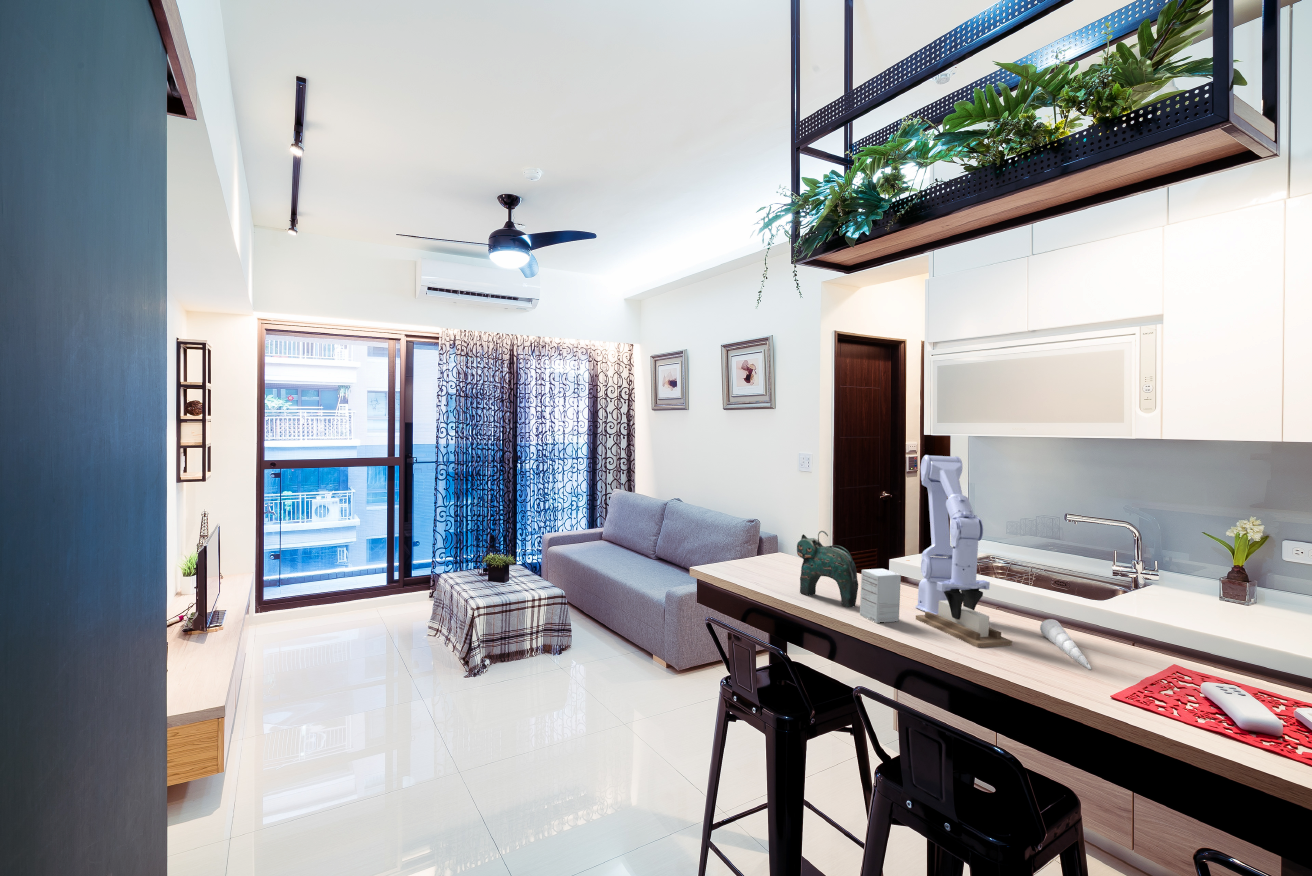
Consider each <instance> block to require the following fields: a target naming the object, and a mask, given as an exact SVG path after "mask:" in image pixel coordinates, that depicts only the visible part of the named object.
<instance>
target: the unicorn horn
mask: <svg viewBox="0 0 1312 876" xmlns="http://www.w3.org/2000/svg"><path fill="white" fill-rule="evenodd" d="M1039 629H1040V633H1041V635H1043V637H1045V638H1046V639H1047V638H1048V639H1049V640H1048V639H1047V640H1048V641H1050V642H1051V641H1052V642H1053V644H1054V645H1055V646H1056V647H1057V646H1058V647H1057V648H1058V649H1060V650H1061V651H1062V652H1064V653H1065V654H1067V655H1068V656H1069V657H1070V658H1072V659H1073V660H1074V661H1076V662H1077V663H1079V664H1080V665H1082V666H1083V667H1085V668H1086V669H1088V670H1092V666H1091V665H1090V663H1089V661H1088V660H1087V658H1086V657H1085V655H1084V654H1083V653H1082V651H1081V650H1080V648H1079V647H1078V645H1077V644H1076V643H1075V642H1074V640H1073V639H1072V638H1071V637H1070V635H1069V634H1068V633H1067V632H1066V630H1065V629H1064V627H1063V626H1062V625H1061V623H1060V622H1059V621H1058V620H1056V619H1052V618H1051V619H1050V618H1048V619H1045V620H1044V621H1042V622H1041V624H1040V625H1039ZM1052 642H1051V643H1052Z"/></svg>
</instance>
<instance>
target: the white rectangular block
mask: <svg viewBox="0 0 1312 876" xmlns="http://www.w3.org/2000/svg"><path fill="white" fill-rule="evenodd" d="M938 616H941V617H943V618H945V619H948V620H950V621H952V622H955V623H957V624H959V625H962V626H964V627H966V628H968V629H971V630H973V631H975V632H978V633H980V637H988V633H989V627H990V615H987V614H985V613H982V612H980V611H977V610H972V609H969V608H967V607H964V606H963V605H962V608H961V616H960V619H955V618H953V617H952V615H951V610H950V606H949V603H948V600H945V601H939V608H938Z"/></svg>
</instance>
